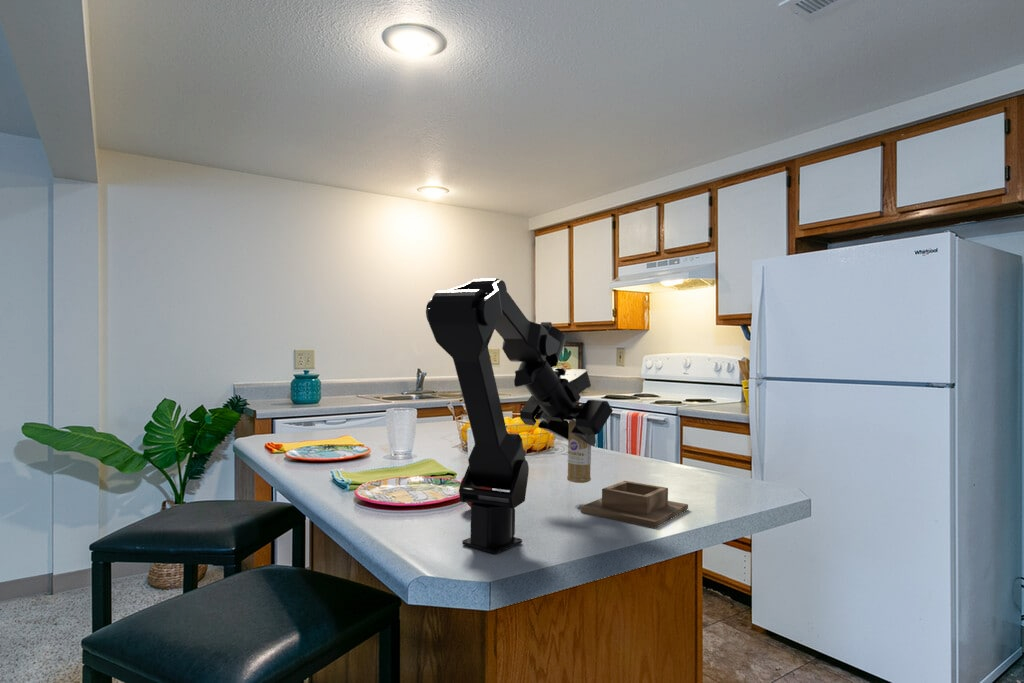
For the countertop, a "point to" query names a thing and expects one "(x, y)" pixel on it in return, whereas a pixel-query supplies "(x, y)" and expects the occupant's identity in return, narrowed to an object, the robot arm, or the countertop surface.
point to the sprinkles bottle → (578, 457)
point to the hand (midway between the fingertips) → (584, 442)
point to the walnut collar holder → (635, 504)
